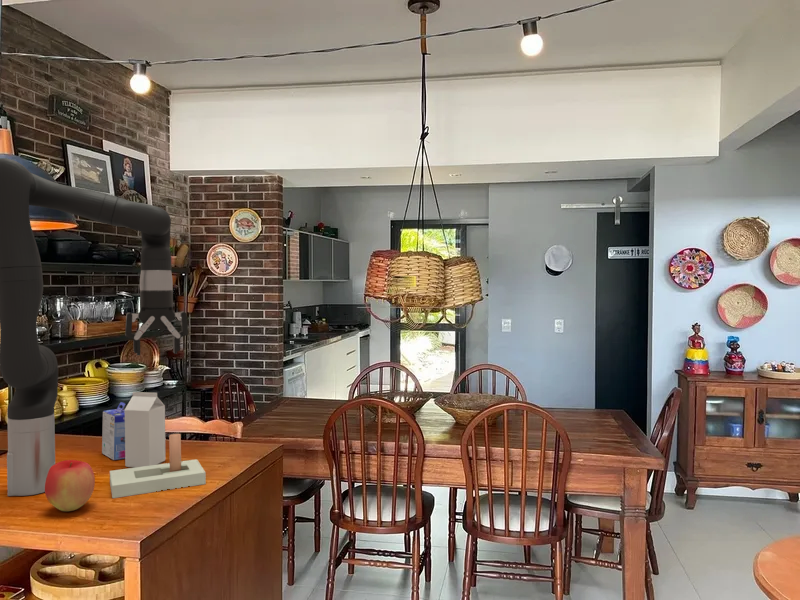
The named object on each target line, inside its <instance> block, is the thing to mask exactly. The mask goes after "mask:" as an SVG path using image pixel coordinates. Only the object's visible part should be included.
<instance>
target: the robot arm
mask: <svg viewBox="0 0 800 600" xmlns="http://www.w3.org/2000/svg"><path fill="white" fill-rule="evenodd" d="M30 206H34V207H41V208H44V209H46V208H47V209H51V210H57V211H60V212H64V213H68V214H71V215H74V216H77V217H81V218H84V219H88V220H91V221H95V222H98V223H101V224H106V225H110V226H114V227H118V228H127V229H131V230H133V231H134V230H135V231H138V232H140V233H141V234H140V235H141V236H140V237H141V251H140V276H139V277H140V278H139V284H138V285H139V286H138V287H139V308H140V309H139V312H138V313H132V312H127V313H126V316H125V330H124V332H125V333H124V335H125V337H126V338H128V339H132V341H133V343H132V344H133V352H134V354H136V356H141V339H140V338H142V336H143V334H144V333H145V332H146V331H147V330H150V331H155V330H162V331H163V330H166V329H167V330H168V331H169V332H170V333H171V334H172V336H173V339H172V344H173V345H172V347H173V348H172V353H173V354H174V355H175V354H178V352H180V351H181V338H183V337H185V336H188V334H189V331H188V318H187V313H186V312H185V311H179V312H174V301H173V300H174V295H173V294H174V293H173V292H174V290H173V288H174V287H173V285H174V283H173V280H174V279H173V275H172V254H171V228H172V227H171V225H172V218H171V216H170V214H169V213H168V212H167V210H165V209H163V208H162V207H160V206H156V205H152V204H150V203H149V204H148V203H143V202H137V201H131V200H128V199H125V198H122V197H120V196H117V195H113V194H108V193H106V192H101V191H98V190H97V191H96V190H93V189H87V188H81V187H76V186H70V185H65V184H61V183H57V182H54V181H52V180H49V179H47V178H44V177H42V176H39V175H37V174H35V173H32V172H31V171H29V169H28V168H27V167H26V166H24V165H23V164H21V162H18V161H16V160H14V159H10V158H7V157H5V158H4V157H3V158H2V157H1V158H0V374H1V377H2V379H3V381H4V382H5V383H6V384H7V385H8V386H10V387H11V388H14V392H13V397H12V399H11V400H10V402H9V404H8V405H7V411H6V412H7V416H6V417H7V454H6V476H7V477H6V480H7V483H6V485H7V486H6V487H7V497H13V496H15V497H16V496H17V497H18V496H19V497H21V496H33V495H34V496H35V495H38V494H43V493H45V482H46V478H47V474H48V471H49V469H50V468H51V466H53V465H54V464H56V434H55V427H56V426H55V425H56V424H55V407H56V403H57V401H58V400H57V399H58V393H59V392H58V390H59V389H58V383H59V365H58V359H57V357H56V354H55V353H54V352H53V351H52V350H51V348H50V347H47V346H44V345H42V344H41V345H40V344H39V340H38V339H39V338H38V331H37V322H38V317H39V311H40V308H41V304H42V303H41V302H42V299H43V295H44V294H43V292H44V280H43V279H44V278H43V277H44V276H43V268H42V267H43V266H42V261H41V255H40V252H39V247H38V244H37V242H36V238H35V235H34V232H33V229H32V224H31V219H30ZM175 318H177V320H178V321H180V331H179V332H178V330H177V329H176V327H175V326H174V325H173V324H172V322H173V320H174V319H175ZM136 319H139V321H140V322H141V323H142V324H141V325H140V326H139V328H138V329H137V331H136V332H135V333H132V332H133V331H132V329H133V328H132V327H133V323H135V322H136Z"/></svg>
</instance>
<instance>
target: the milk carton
mask: <svg viewBox="0 0 800 600" xmlns="http://www.w3.org/2000/svg"><path fill="white" fill-rule="evenodd" d="M124 410H125V459H124V462H125V463H124V464H125V467H128V468H135V467H143V466H150V465H158V464H162V463H163V462H165V461H166V405H165V404H164V403H163V402H162V400H161V399H160V398H159V397H158V392H147V391H146V392H145V391H144V392H143V391H133V392H132V396H131V398H130V400H129V402H128V403H127V405H125V407H124Z"/></svg>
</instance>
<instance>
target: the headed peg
mask: <svg viewBox="0 0 800 600" xmlns="http://www.w3.org/2000/svg"><path fill="white" fill-rule="evenodd" d="M168 438H169V440H168V443H169V444H168V445H169V447H168V448H169V463H170V472H174V471H181V461H182V441H181V440H182V439H181V438H182V437H181V433H172V434H169V437H168Z"/></svg>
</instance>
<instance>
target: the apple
mask: <svg viewBox="0 0 800 600" xmlns="http://www.w3.org/2000/svg"><path fill="white" fill-rule="evenodd" d="M95 479H96V478H95V473H94V470H93V468H92V466H91V465H90V464H89V463H87V462H86V461H81V460H76V459H67V460H61V461H58V462H55V464H54V465H53V466H51V468H50V469H49V471H48V474H47V478H46V482H45V492H44V493H45V497H46V499H47V502H48V503H50V504H51V505H52V506H53V507H54V508H56V509H57V510H58V511H61V512H73V511H76V510H78V509H80V508H81V507H83V506H84V505H86V503H87V502H88V501H89V500H90V498H91V496H92V495H93V492H94V490H95V484H96V483H95V482H96V481H95Z"/></svg>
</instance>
